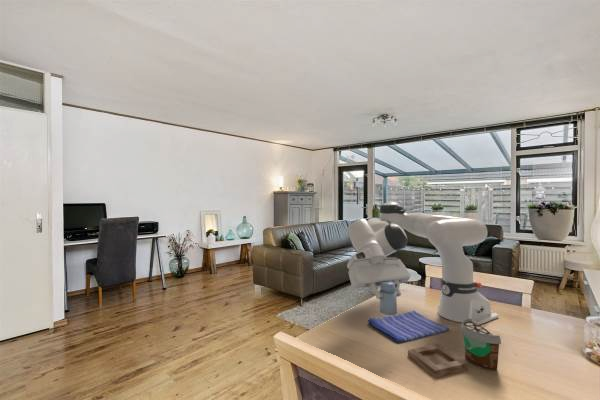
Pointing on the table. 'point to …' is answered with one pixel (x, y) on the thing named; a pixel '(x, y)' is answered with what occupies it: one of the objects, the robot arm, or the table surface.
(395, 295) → the blue-grey shaker
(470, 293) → the robot arm
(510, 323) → the table surface
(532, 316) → the table surface
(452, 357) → the square wooden frame
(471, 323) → the food container
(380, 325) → the dish towel
